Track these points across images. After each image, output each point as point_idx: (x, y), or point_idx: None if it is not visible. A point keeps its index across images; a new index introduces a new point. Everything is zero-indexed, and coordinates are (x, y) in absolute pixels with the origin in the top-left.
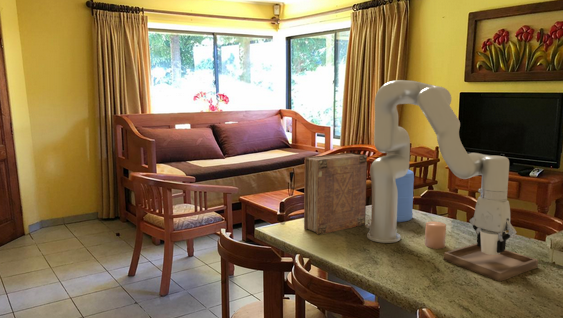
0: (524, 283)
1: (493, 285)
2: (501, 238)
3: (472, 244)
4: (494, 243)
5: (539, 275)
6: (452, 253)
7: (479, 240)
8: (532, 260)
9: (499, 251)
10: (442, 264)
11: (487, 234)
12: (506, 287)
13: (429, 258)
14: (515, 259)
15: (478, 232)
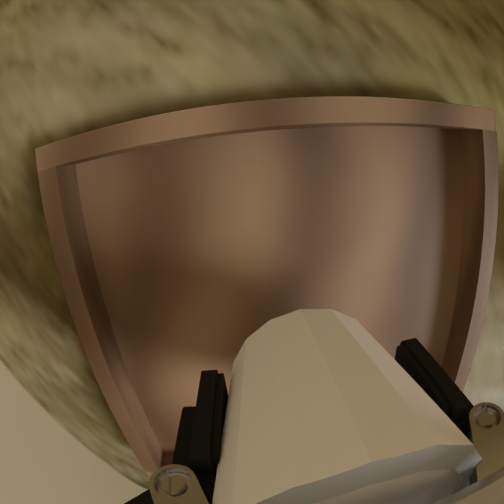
0: (18, 256)
1: (50, 77)
2: (171, 495)
3: (464, 383)
4: (237, 416)
5: (79, 393)
6: (477, 175)
7: (423, 376)
8: (149, 463)
9: (202, 385)
10: (417, 45)
11: (331, 462)
12: (13, 128)
13: (495, 72)
14: None
15: (478, 425)
